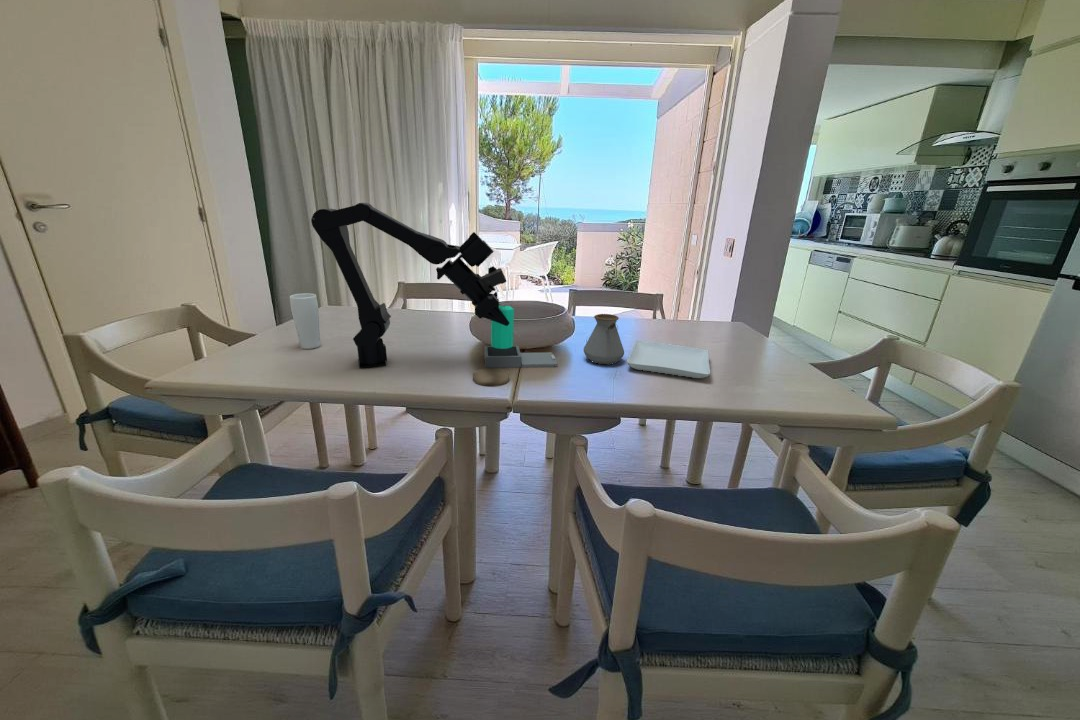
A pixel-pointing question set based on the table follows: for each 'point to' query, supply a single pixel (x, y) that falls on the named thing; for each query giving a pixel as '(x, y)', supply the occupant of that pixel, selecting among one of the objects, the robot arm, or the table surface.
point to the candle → (503, 330)
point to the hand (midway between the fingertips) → (507, 321)
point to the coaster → (490, 377)
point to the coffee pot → (604, 341)
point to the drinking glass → (306, 319)
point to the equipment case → (516, 358)
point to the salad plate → (670, 359)
